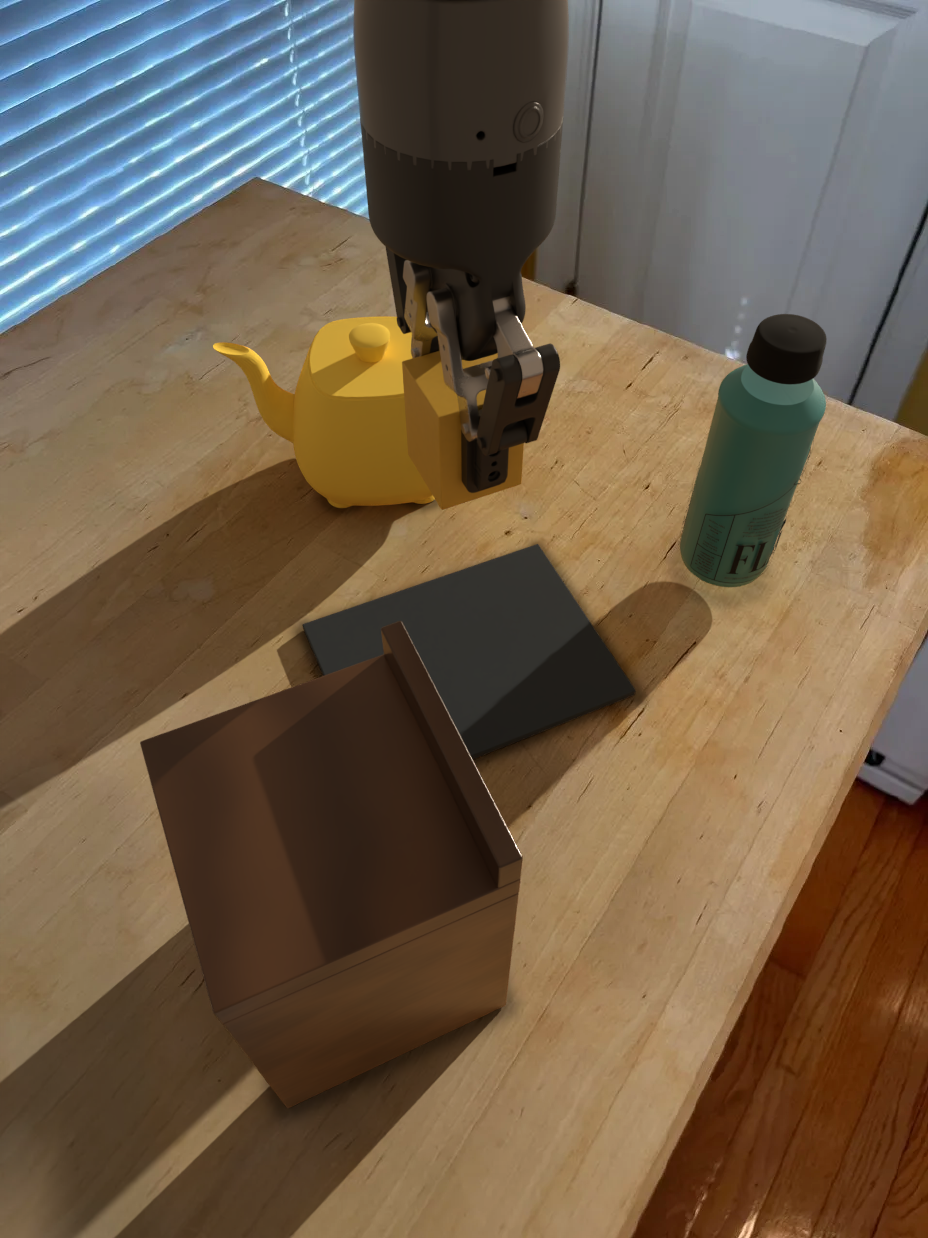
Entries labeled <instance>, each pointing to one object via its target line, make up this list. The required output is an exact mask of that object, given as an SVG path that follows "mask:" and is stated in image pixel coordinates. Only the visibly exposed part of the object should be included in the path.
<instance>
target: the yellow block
mask: <svg viewBox="0 0 928 1238" xmlns="http://www.w3.org/2000/svg"><path fill="white" fill-rule="evenodd" d="M497 357H498V353H496V354H494V355H491V356H488V357H484V358H480V359H477V360H473V361H465V360H462V367H463V369H464V368H468V367H471V366H475V365H478V364H482V363H485V362H489V361H492V360H494V359H496V358H497ZM402 371H403V386H404V400H405V415H406V430H407V444H408V455H409V457H410V458H411V460H412V462H413V463H414V465H415V467H416V468H417V470H418V472H419V473H420V475H421V477H422V478H423V480H424V482H425V483H426V485H427V487H428V488H429V490H430V491H431V493H432V495H433V496H434V498H435V502H436V503H437V505H438V507H439V508H440V509H441V511H442V510H446V509H449V508H452V507H456V506H458V505H461V504H465V503H468V502H471V501H473V500H477V499H481V498H483V497H487V496H489V495H492V494H496V493H499V492H502V491H505V490H507V489H511V488H513V487H517V486H521V485H522V479H523V464H524V450H525V443H523V444H520V445H516V446H513V447H510V448H509V456H508V476H507V479H506V481H505V482H504V483H502V484H500V485H497V486H494V487H491V488H488V489H485V490H482V491H479V492H476V493H470V492H468V490H467V489H466V487H465V486H464V484H463V483H462V469H461V420H460V413H459V406H458V399H457V394H456V393H455V392H453V391H452V390H451V389H450V388H449V387H447V386H446V384H445V382H444V376H443V369H442V363H441V356H440V351H437V352H434V353H430V354H427V355H423V356H419V357H416V358H412V359H409V360H405V361H402ZM485 394H486V390H483V391H481V392H479V393H478V395H477V407H478V410H481V409H482V408H483V403H484V398H485Z"/></svg>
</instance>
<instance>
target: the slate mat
mask: <svg viewBox="0 0 928 1238" xmlns="http://www.w3.org/2000/svg"><path fill="white" fill-rule="evenodd" d="M398 621H402V622H403V624H404V626H405V628H406V630H407V632H408V634H409V636H410V638H411V640H412V642H413V644H414V646H415V648H416V650H417V652H418V654H419V656H420V657H421V659H422V661H423V663H424V665H425V667H426V669H427V671H428V673H429V675H430V677H431V679H432V681H433V683H434V685H435V687H436V689H437V691H438V693H439V694H440V696H441V698H442V700H443V702H444V704H445V706H446V708H447V710H448V712H449V714H450V716H451V718H452V720H453V722H454V724H455V726H456V728H457V730H458V731H459V733H460V735H461V737H462V739H463V741H464V743H465V745H466V747H467V749H468V751H469V753H470V755H471V757H472V759H473V760H475V759H478V758H480V757H482V756H483V757H484V756H485V755H487V754H490V753H492V752H495V751H497V750H500V749H502V748H505V747H508V746H510V745H513V744H515V743H517V742H520V741H523V740H525V739H528V738H531V737H533V736H535V735H538V734H540V733H543V732H545V731H548V730H550V729H553V728H555V727H559V726H560V725H563V724H566V723H568V722H571V721H574V720H576V719H579V718H581V717H583V716H585V715H588V714H591V713H594V712H596V711H598V710H600V709H603V708H605V707H608V706H611V705H613V704H616V703H618V702H621V701H624V700H626V699H628V698H630V697H633V696H635V695H636V692H637V691H636V688H635V687H634V685H633V683H631V681H630V679H629V678H628V676H627V675H626V674H625V672H624V670H623V669H622V667H621V666H620V664H619V663H618V661H617V660H616V659H615V656H614V655H613V654H612V652H611V651H610V649H609V647H607V645H606V643H605V642H604V640H603V639H602V638H601V636H600V634H599V633H598V631H597V630H596V628H595V627H594V625H593V624H592V622H591V621H590V620H589V618H588V617H587V615H586V613H585V612H584V610H583V609H582V607H581V606H580V604H579V603H578V602H577V600H576V598H575V597H574V595H573V594H572V593H571V591H570V590H569V588H568V586H567V585H566V584H565V582H564V581H563V579H562V578H561V575H560V574H559V573H558V572H557V570H556V568H555V567H554V566H553V564H552V562H551V561H550V559H549V558H548V556H547V555H546V553H545V552H544V551H543V549H542V548H541V545H540V544H538V543H536V544H533V545H529V546H527V547H524V548H521V549H518V550H515V551H513V552H510V553H507V554H504V555H501V556H498V557H495V558H492V559H489V560H486V561H483V562H481V563H477V564H475V565H472V566H468V567H466V568H463V569H459V570H457V571H454V572H451V573H448V574H445V575H442V576H439V577H437V578H433V579H431V580H428V581H424V582H422V583H419V584H415V585H413V586H410V587H407V588H405V589H401V590H398V591H396V592H393V593H390V594H386V595H384V596H380V597H378V598H374V599H372V600H369V601H366V602H363V603H360V604H358V605H355V606H351V607H349V608H346V609H343V610H340V611H337V612H334V613H331V614H328V615H325V616H323V617H322V616H321V617H320V618H315V619H314V620H310V621H307V622H304V623H303V624H302V629H303V632H304V634H305V637H306V639H307V642H308V643H309V646H310V648H311V651H312V653H313V655H314V658H315V660H316V663H317V664H318V668H319V670H320V672H321V674H322V676H325V675H328V674H330V673H333V672H336V671H339V670H341V669H344V668H347V667H350V666H353V665H355V664H358V663H361V662H364V661H367V660H369V659H372V658H375V657H378V656H381V655H383V654H384V650H383V642H382V634H381V628H382V627H384V626H387V625H390V624H393V623H396V622H398Z"/></svg>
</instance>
